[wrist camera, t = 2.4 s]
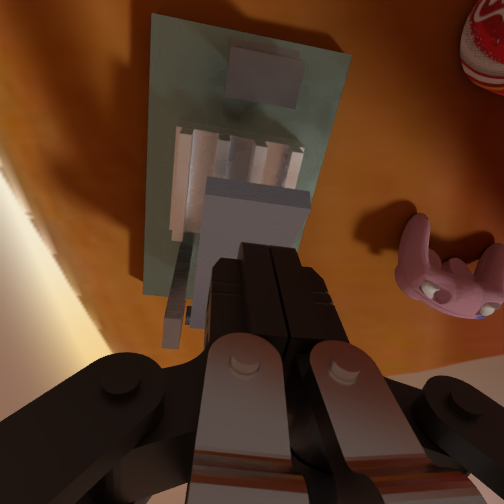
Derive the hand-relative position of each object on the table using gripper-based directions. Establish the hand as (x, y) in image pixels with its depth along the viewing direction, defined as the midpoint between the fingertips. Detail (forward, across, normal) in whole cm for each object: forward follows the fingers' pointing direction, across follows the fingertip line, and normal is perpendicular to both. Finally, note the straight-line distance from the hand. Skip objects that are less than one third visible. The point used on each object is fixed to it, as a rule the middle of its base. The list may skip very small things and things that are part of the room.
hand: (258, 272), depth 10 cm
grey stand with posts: (+18, 0, +4) cm, 18 cm away
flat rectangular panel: (+7, 0, +4) cm, 8 cm away
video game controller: (+18, -19, +8) cm, 27 cm away
